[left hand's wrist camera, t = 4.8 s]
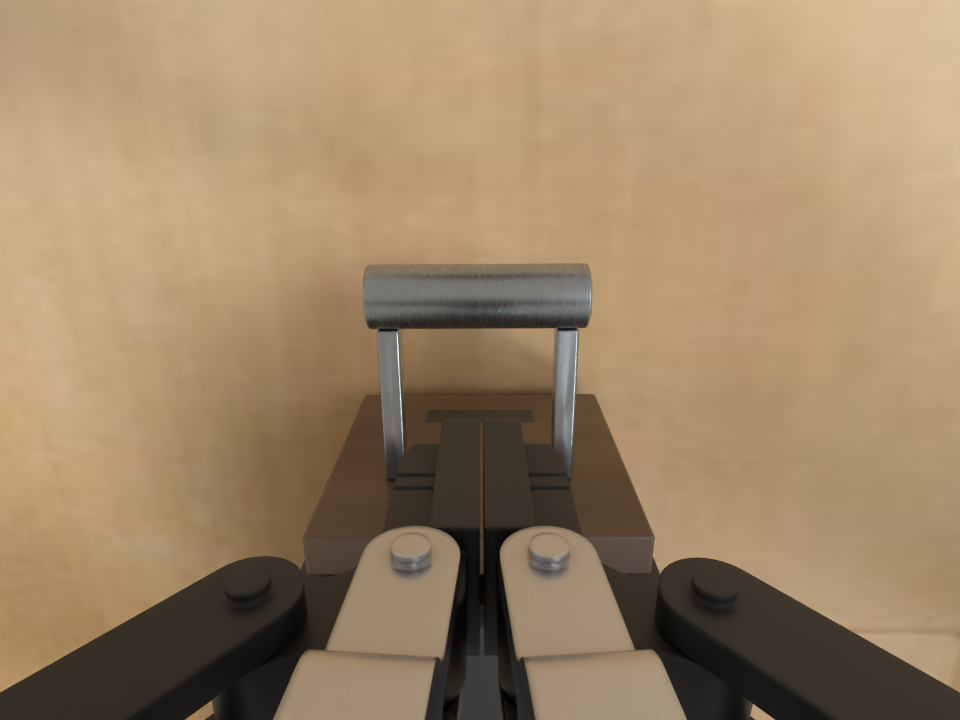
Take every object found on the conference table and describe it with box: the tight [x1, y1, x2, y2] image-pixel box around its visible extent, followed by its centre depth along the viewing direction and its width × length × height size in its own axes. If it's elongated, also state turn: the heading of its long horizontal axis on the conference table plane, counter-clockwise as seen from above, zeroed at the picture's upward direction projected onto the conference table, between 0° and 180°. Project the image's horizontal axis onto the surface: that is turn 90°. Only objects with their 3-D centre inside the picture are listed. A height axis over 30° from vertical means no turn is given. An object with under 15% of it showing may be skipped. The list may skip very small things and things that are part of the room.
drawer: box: [303, 264, 655, 605], centre depth 22 cm, size 26×9×9 cm, turn 0°
